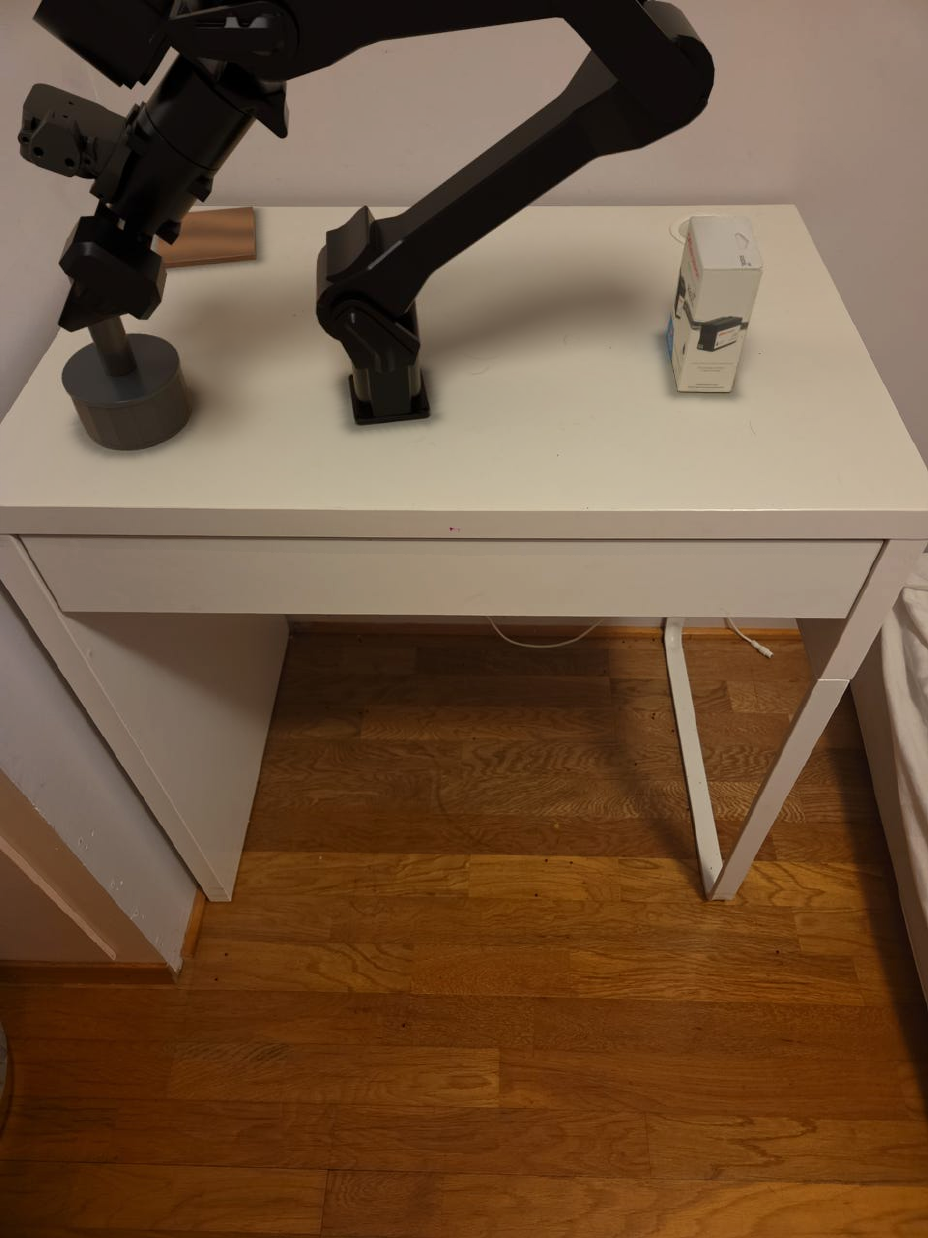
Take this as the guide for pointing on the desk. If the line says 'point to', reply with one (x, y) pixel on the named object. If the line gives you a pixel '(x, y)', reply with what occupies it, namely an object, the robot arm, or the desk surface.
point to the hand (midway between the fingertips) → (74, 294)
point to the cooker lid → (119, 367)
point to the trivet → (211, 238)
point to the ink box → (713, 302)
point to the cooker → (139, 419)
